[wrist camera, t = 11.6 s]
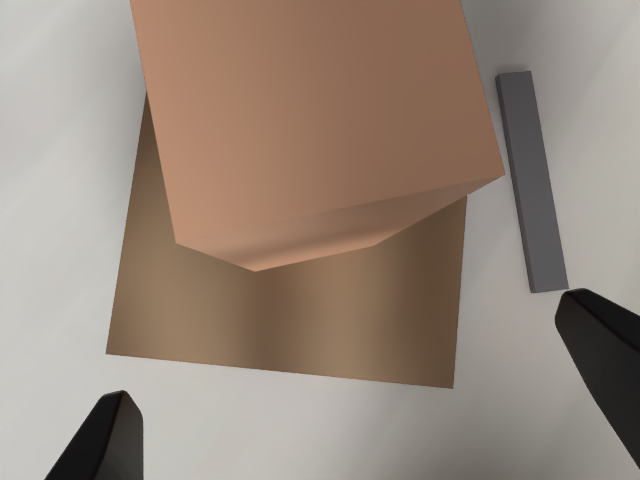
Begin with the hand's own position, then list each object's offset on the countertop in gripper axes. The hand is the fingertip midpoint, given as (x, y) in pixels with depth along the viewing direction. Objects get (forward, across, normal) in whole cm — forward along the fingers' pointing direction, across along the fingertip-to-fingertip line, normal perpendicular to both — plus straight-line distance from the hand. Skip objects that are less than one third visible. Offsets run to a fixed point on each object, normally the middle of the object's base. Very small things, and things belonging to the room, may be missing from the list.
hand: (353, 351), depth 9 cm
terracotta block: (+10, 0, +3) cm, 11 cm away
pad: (+11, 0, +4) cm, 11 cm away
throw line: (+10, -10, +4) cm, 15 cm away
